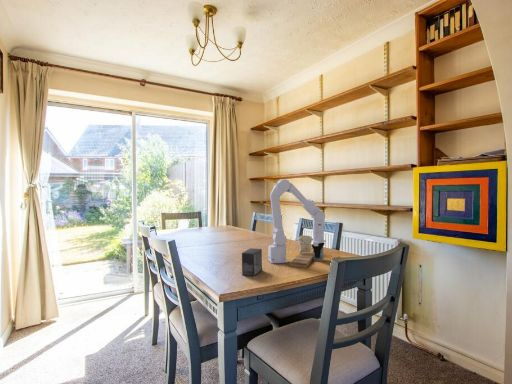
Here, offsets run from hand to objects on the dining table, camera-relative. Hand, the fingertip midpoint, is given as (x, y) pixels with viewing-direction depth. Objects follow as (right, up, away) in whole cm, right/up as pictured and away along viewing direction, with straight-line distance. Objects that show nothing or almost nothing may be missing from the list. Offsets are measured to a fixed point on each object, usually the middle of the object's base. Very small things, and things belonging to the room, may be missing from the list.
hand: (318, 256), depth 157 cm
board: (-8, -2, -2) cm, 9 cm away
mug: (-3, -2, +18) cm, 19 cm away
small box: (-36, -3, -22) cm, 42 cm away
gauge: (-4, -2, +1) cm, 4 cm away
